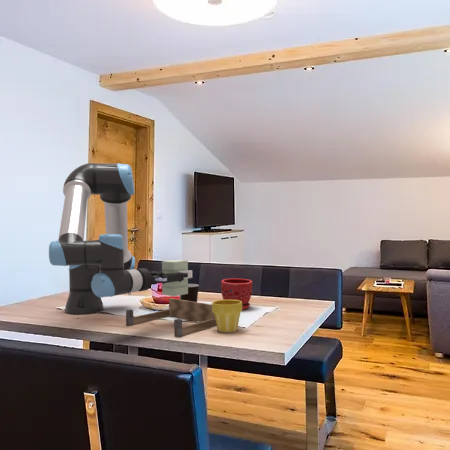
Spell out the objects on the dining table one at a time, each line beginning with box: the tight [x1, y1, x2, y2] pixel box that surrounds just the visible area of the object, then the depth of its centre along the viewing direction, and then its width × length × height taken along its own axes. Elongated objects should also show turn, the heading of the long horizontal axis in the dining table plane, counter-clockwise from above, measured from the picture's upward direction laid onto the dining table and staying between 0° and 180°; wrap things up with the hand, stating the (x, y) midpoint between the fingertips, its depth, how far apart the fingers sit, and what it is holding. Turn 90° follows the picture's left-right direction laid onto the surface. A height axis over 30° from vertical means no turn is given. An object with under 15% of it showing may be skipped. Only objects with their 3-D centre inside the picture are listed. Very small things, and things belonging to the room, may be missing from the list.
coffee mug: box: [179, 283, 200, 302], centre depth 194 cm, size 12×9×10 cm
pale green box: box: [161, 259, 189, 297], centre depth 166 cm, size 6×7×12 cm
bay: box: [125, 297, 217, 338], centre depth 165 cm, size 27×21×7 cm
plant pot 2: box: [211, 299, 243, 333], centre depth 157 cm, size 10×10×10 cm
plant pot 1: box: [220, 277, 253, 311], centre depth 194 cm, size 13×13×12 cm
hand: (184, 273), depth 170 cm, fingers closed on pale green box, 6 cm apart
